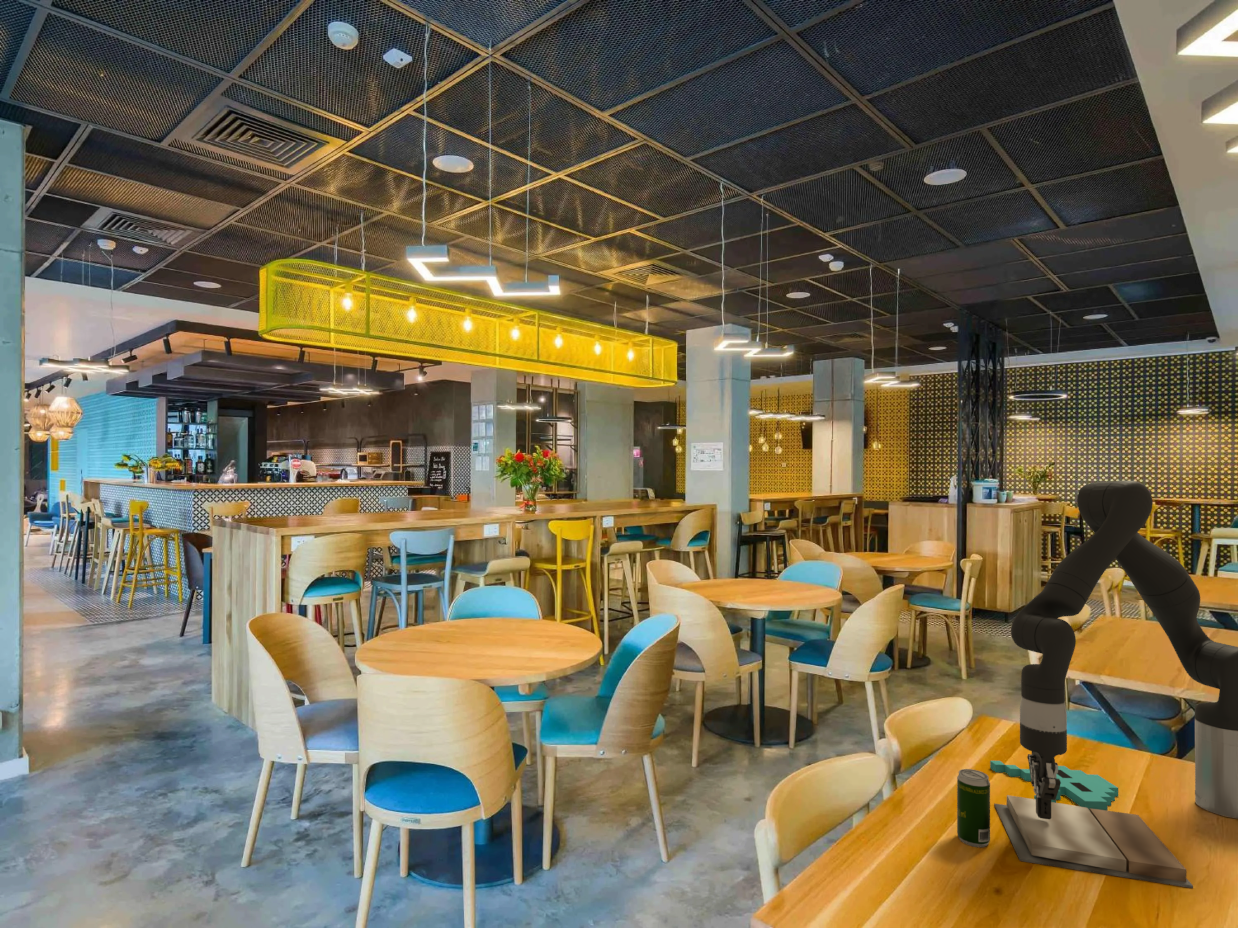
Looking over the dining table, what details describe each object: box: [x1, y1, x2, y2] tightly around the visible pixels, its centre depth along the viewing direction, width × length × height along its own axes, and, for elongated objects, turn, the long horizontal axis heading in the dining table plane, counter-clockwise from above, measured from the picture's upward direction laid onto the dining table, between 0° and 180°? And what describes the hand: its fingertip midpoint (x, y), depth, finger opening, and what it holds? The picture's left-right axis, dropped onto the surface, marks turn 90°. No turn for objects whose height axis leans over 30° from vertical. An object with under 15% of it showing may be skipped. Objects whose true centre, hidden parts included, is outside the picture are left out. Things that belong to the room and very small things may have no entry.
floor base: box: [993, 803, 1194, 889], centre depth 129 cm, size 25×22×2 cm
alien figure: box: [989, 760, 1119, 811], centre depth 151 cm, size 20×2×20 cm
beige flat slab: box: [1006, 794, 1126, 872], centre depth 130 cm, size 14×20×2 cm
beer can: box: [956, 768, 991, 848], centre depth 129 cm, size 5×5×12 cm
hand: (1043, 816), depth 131 cm, fingers closed
